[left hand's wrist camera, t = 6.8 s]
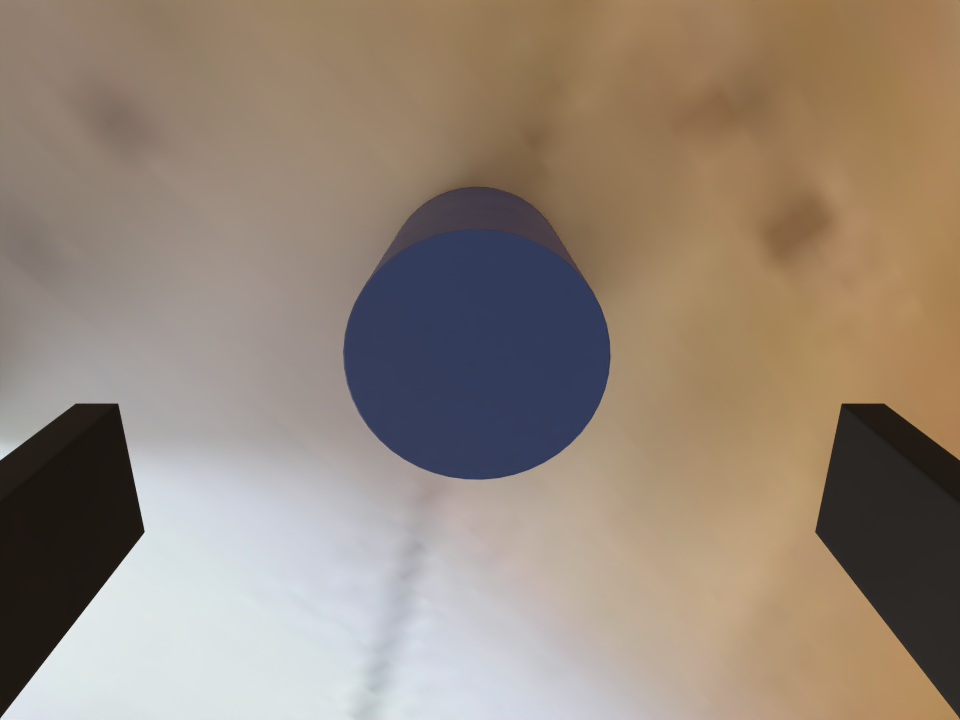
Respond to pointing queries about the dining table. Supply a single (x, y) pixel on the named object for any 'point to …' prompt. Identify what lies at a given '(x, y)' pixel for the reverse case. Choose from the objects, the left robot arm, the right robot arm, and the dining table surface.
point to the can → (476, 339)
